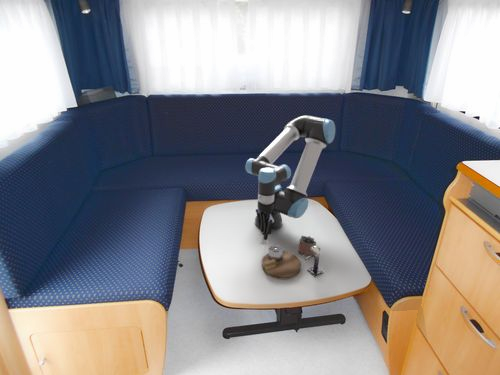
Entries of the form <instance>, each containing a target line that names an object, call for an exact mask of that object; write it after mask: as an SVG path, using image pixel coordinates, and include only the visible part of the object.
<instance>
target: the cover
mask: <svg viewBox="0 0 500 375" xmlns="http://www.w3.org/2000/svg"><path fill="white" fill-rule="evenodd" d="M284 251H285V250H284V248H283V247H282V246H279V245H272V246H269V247H268V252H267V253H268V258H269V260H273V259H274V260H275V261H276V262H279V261H281V260H282V259H283V252H284Z"/></svg>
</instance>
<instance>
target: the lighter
mask: <svg viewBox="0 0 500 375" xmlns="http://www.w3.org/2000/svg"><path fill="white" fill-rule="evenodd" d="M298 246H299V247H298V251H297V253H298V255H301V256H303V255H304V257H308V256H311V255H312V254H311V252H310V248H311V247H312V246H317V242H316V241H315V238H314V237H311V236H310V235H308V236H305V235H301V237H300V239H299V245H298Z"/></svg>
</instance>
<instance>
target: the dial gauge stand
mask: <svg viewBox="0 0 500 375" xmlns="http://www.w3.org/2000/svg"><path fill="white" fill-rule="evenodd" d="M310 252H311V254H312V255H311V256H309V257H308V256H305V257H304V260H305V261H307V260H309V259H312V258H314V259H313V260H314V261H313V266H312V267H310V268H307V272H308V273H309V272H310V273H309V274H310V275H312V276H313V277H314V278H316V277H319V275H322V274H324V271H323V270H321V269H320V268H319V262H320V256H321V248H320V247H318V246H317V245H316V246H312V247H311V248H310Z"/></svg>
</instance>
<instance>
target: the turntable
mask: <svg viewBox="0 0 500 375" xmlns="http://www.w3.org/2000/svg"><path fill="white" fill-rule="evenodd" d="M301 268H302V261H301V260H300V258H299V256H298V255H295V254H294V253H292V252H290V251H285V250H284V252H283V259H282V260H281V261H279V262H276V261H275V260H274V259H273V260H269V258H268V252H267V253H266V254H265V255H264V256H263V257H262V259H261V269H262V270H263V272H264V273H265V274H266V275H267V276H269V277H271V278H274V279H281V280H288V279H292V278H294V277H296V276H298V275H299V273H300V272H301V270H302V269H301Z"/></svg>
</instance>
